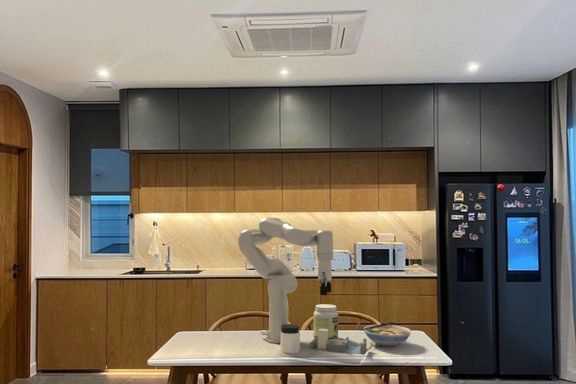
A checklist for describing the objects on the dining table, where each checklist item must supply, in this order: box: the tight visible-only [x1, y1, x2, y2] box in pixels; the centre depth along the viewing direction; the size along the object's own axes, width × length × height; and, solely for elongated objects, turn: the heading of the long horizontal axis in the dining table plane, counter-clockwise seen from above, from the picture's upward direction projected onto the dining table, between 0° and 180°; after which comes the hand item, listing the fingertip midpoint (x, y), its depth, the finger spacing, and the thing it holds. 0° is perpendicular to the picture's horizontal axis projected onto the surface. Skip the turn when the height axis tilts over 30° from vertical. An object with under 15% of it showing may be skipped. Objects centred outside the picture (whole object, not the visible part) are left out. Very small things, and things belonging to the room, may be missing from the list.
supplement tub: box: [313, 303, 339, 342], centre depth 248 cm, size 12×12×17 cm
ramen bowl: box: [360, 321, 412, 348], centre depth 240 cm, size 25×23×8 cm
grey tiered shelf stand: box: [309, 336, 367, 355], centre depth 228 cm, size 24×10×6 cm, turn 73°
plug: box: [318, 329, 329, 349], centre depth 231 cm, size 4×4×8 cm
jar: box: [279, 323, 301, 354], centre depth 225 cm, size 9×8×12 cm
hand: (325, 293), depth 234 cm, fingers open, 9 cm apart
